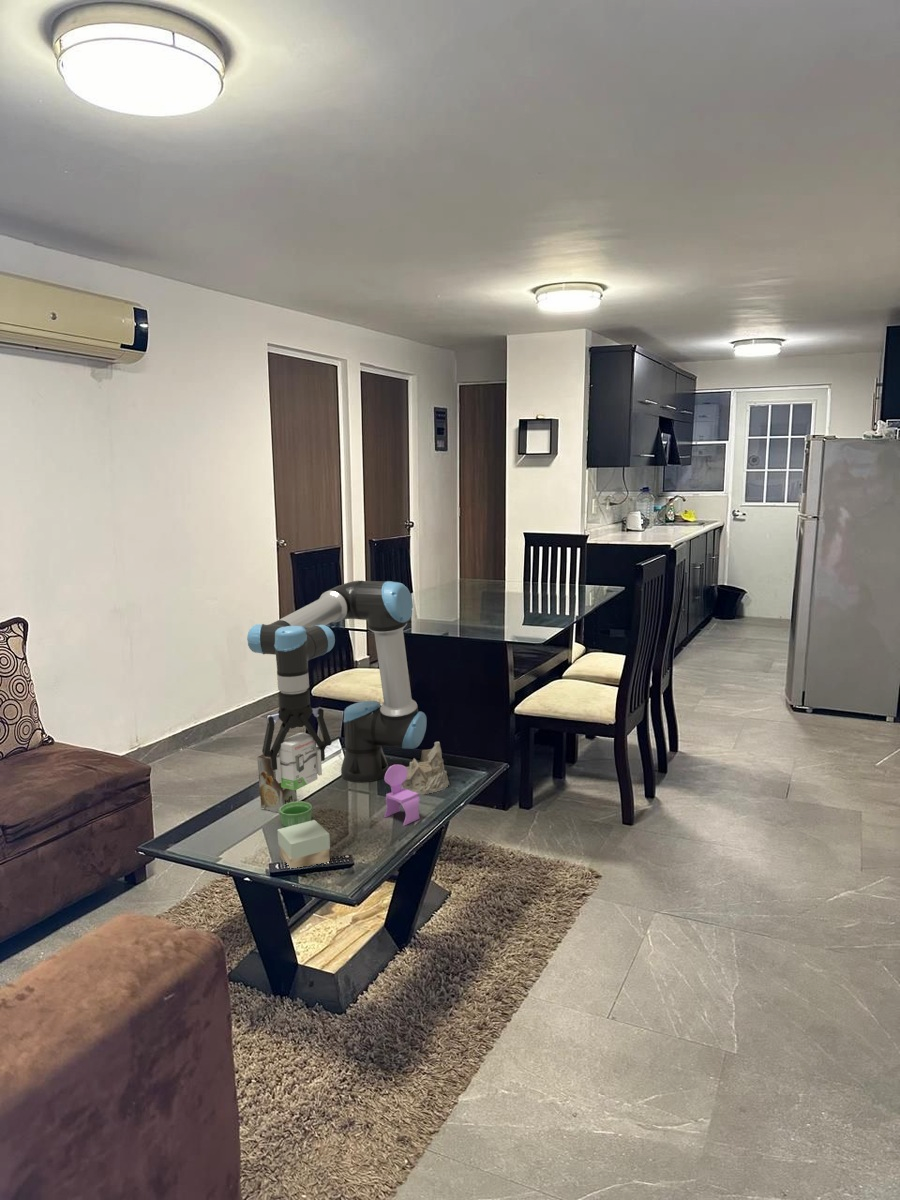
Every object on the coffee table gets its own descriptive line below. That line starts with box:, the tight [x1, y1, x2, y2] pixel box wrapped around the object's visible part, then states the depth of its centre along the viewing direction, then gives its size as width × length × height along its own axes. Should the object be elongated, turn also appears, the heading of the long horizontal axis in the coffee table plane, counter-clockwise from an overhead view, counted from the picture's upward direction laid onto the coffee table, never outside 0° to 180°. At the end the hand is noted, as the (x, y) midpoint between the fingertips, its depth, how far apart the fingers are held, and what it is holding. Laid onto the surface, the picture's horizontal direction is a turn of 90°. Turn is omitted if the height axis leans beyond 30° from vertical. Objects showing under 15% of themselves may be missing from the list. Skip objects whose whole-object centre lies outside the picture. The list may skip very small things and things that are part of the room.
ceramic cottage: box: [401, 741, 450, 796], centre depth 251 cm, size 16×16×15 cm
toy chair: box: [382, 764, 421, 827], centre depth 227 cm, size 8×9×15 cm
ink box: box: [279, 732, 318, 791], centre depth 201 cm, size 9×5×12 cm, turn 148°
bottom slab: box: [278, 844, 331, 869], centre depth 205 cm, size 10×10×4 cm
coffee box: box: [256, 752, 298, 814], centre depth 236 cm, size 9×6×16 cm
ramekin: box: [279, 800, 313, 828], centre depth 227 cm, size 9×9×4 cm
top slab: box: [276, 819, 331, 860], centre depth 205 cm, size 10×10×4 cm
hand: (299, 777), depth 202 cm, fingers closed on ink box, 9 cm apart
